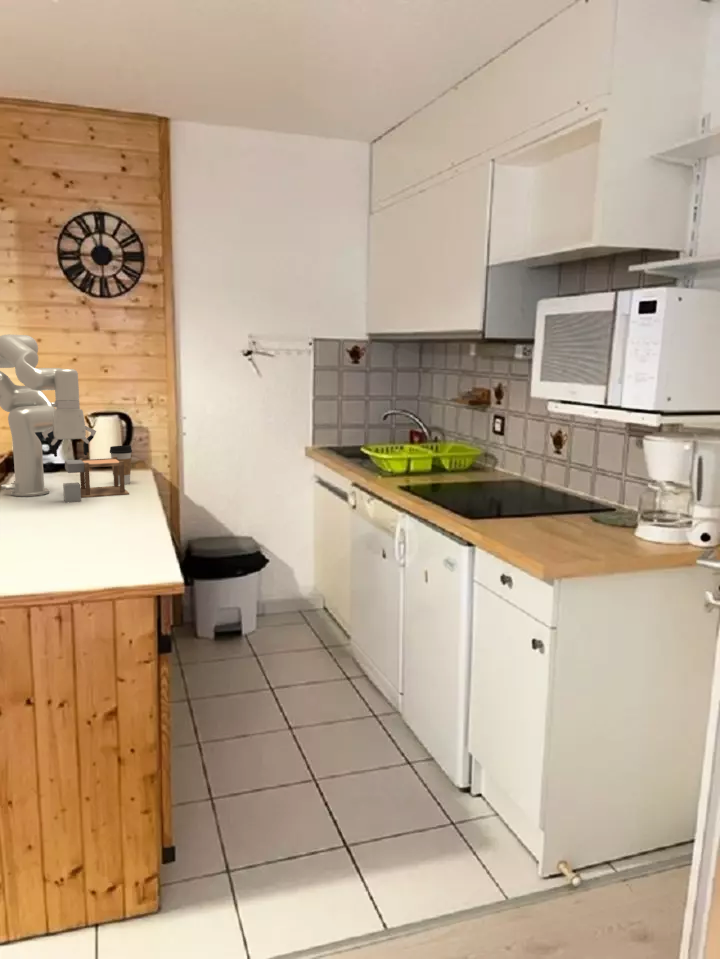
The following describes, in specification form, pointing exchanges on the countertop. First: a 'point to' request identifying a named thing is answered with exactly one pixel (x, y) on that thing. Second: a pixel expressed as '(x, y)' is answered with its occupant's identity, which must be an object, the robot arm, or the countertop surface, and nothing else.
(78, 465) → the trapdoor
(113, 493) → the frame
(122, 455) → the coffee cup
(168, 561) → the countertop surface
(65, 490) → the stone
